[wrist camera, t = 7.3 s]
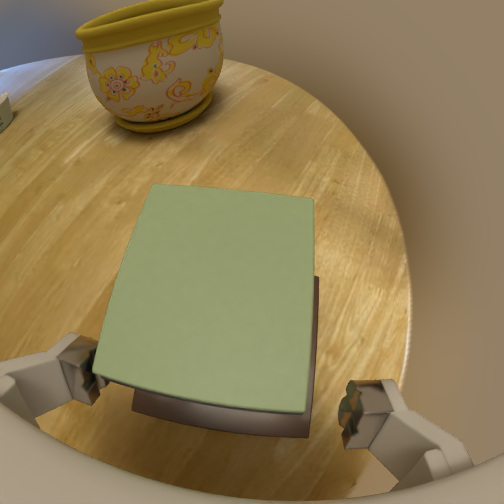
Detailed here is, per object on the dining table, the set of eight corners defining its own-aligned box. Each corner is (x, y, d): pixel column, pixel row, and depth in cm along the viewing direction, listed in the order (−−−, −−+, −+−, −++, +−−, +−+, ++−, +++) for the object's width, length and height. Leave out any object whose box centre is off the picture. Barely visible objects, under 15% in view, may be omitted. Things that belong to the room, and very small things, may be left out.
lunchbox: (283, 298, 18) (317, 196, 10) (272, 407, 15) (309, 416, 6) (191, 286, 19) (150, 181, 10) (170, 392, 15) (87, 374, 6)
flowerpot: (204, 74, 41) (199, -9, 27) (246, 121, 33) (248, 0, 19) (104, 105, 37) (81, 21, 23) (108, 165, 29) (64, 43, 15)
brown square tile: (310, 292, 22) (319, 276, 19) (299, 433, 16) (308, 438, 14) (174, 275, 22) (165, 257, 20) (146, 410, 17) (130, 410, 14)
